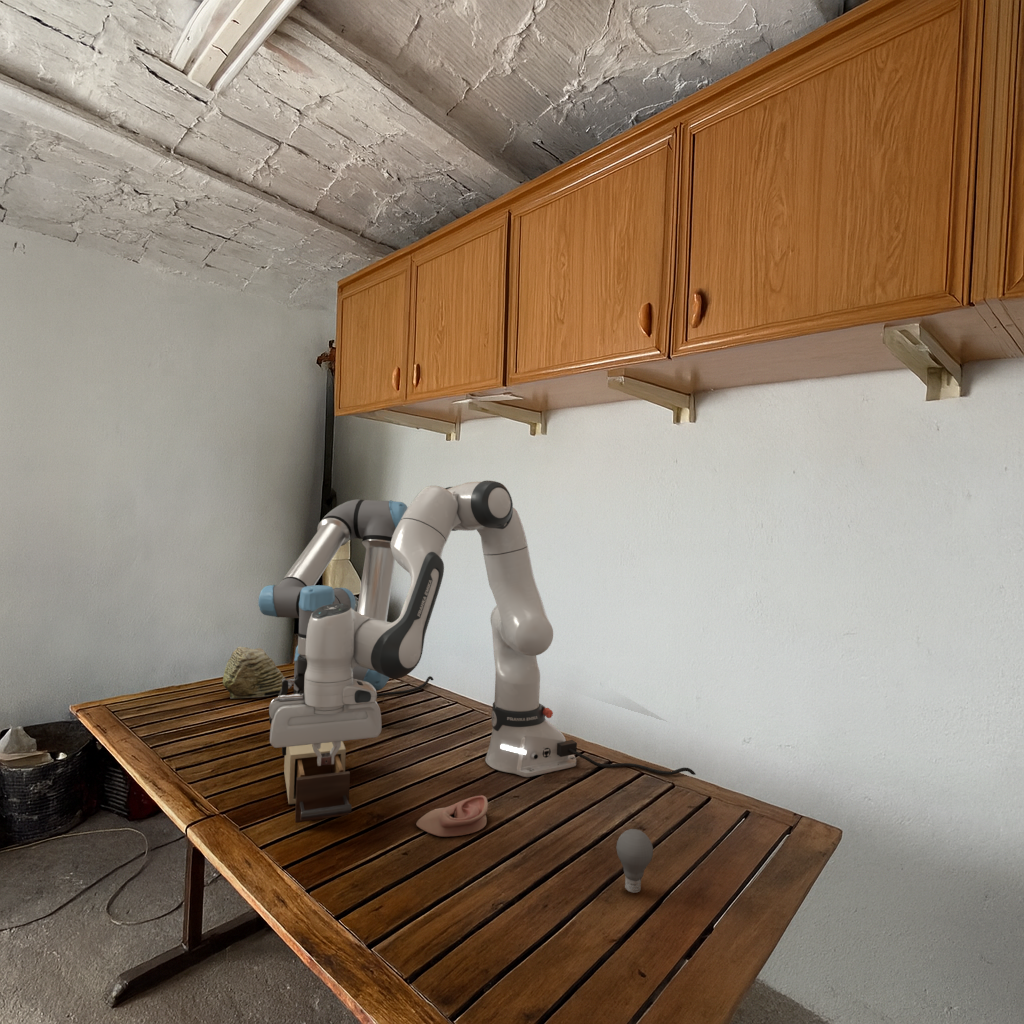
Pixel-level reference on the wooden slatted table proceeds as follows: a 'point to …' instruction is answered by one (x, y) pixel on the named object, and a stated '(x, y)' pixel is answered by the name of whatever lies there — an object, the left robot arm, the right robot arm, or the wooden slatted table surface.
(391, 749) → the wooden slatted table surface
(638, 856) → the light bulb
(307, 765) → the drawer
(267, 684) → the fossil
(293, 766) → the cabinet
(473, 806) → the anatomical model
